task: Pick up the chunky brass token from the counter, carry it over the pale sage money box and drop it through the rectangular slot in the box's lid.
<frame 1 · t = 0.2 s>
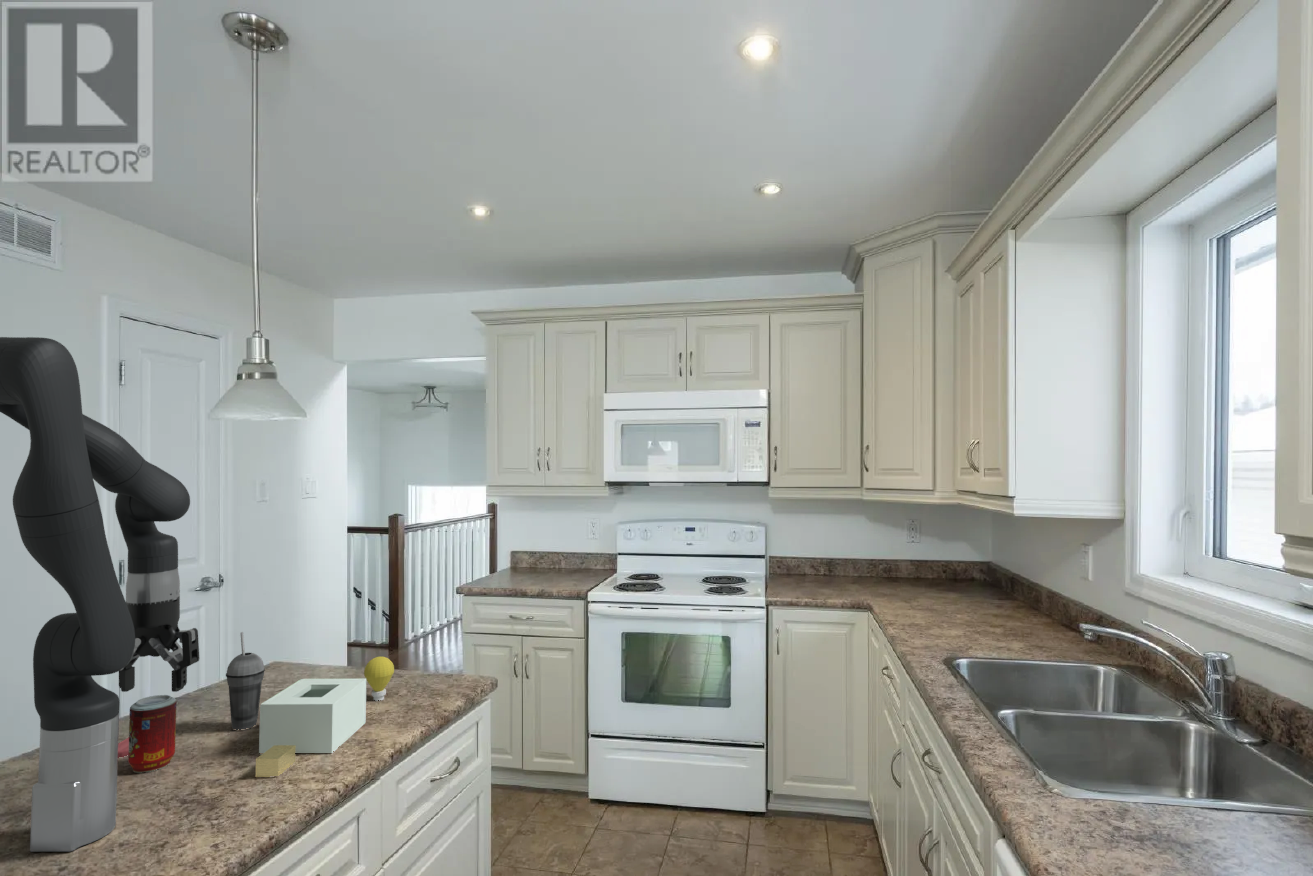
hand: (153, 690, 118), 17 cm above the counter, tool pointing down, fingers open, 8 cm apart
light bulb: (378, 700, 164), on the counter
popsicle: (141, 745, 138), on the counter
money box: (315, 737, 140), on the counter
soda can: (151, 767, 127), on the counter
beverage cup: (244, 727, 146), on the counter
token: (275, 771, 125), on the counter
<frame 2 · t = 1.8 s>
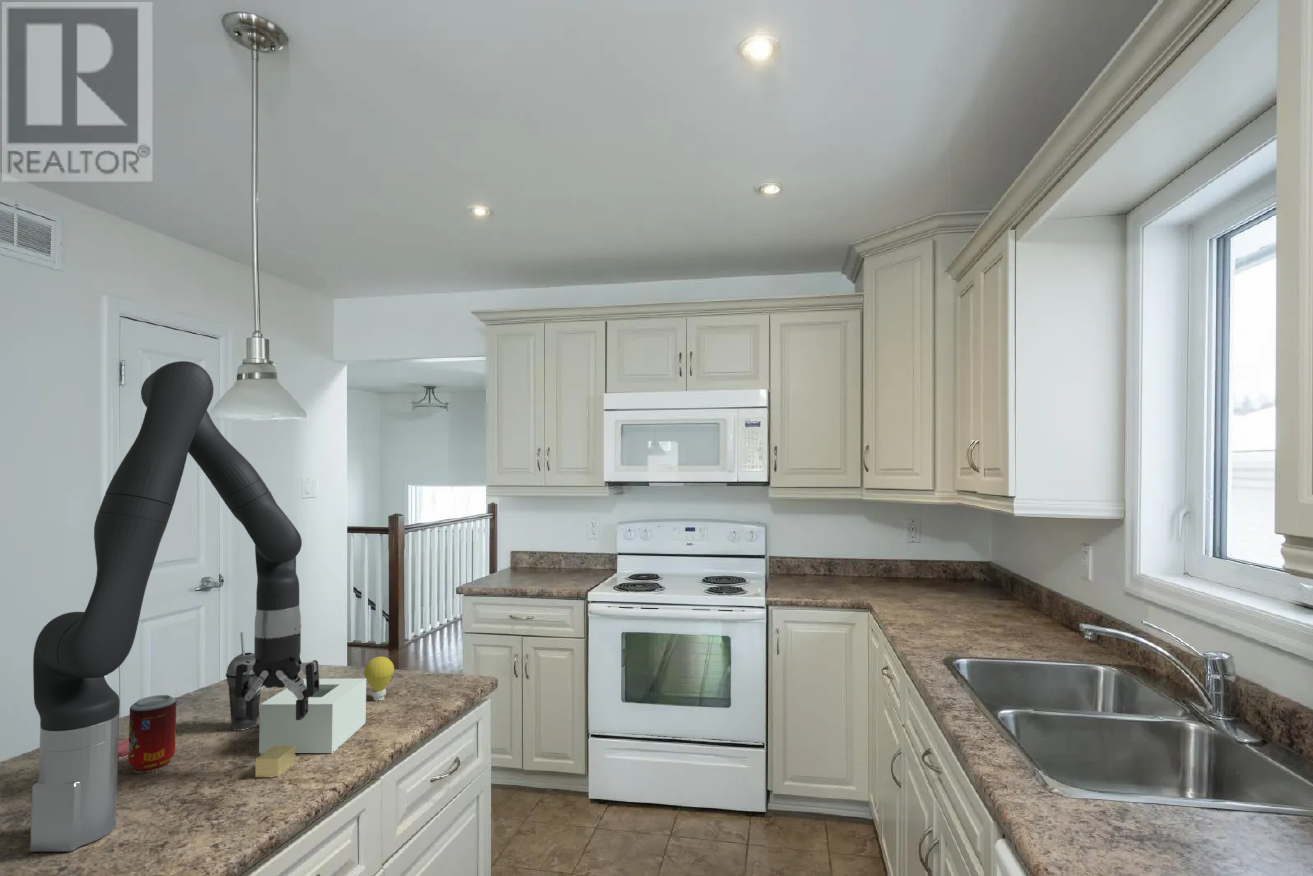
hand: (277, 719, 126), 9 cm above the counter, tool pointing down, fingers open, 8 cm apart
nothing on the counter moved.
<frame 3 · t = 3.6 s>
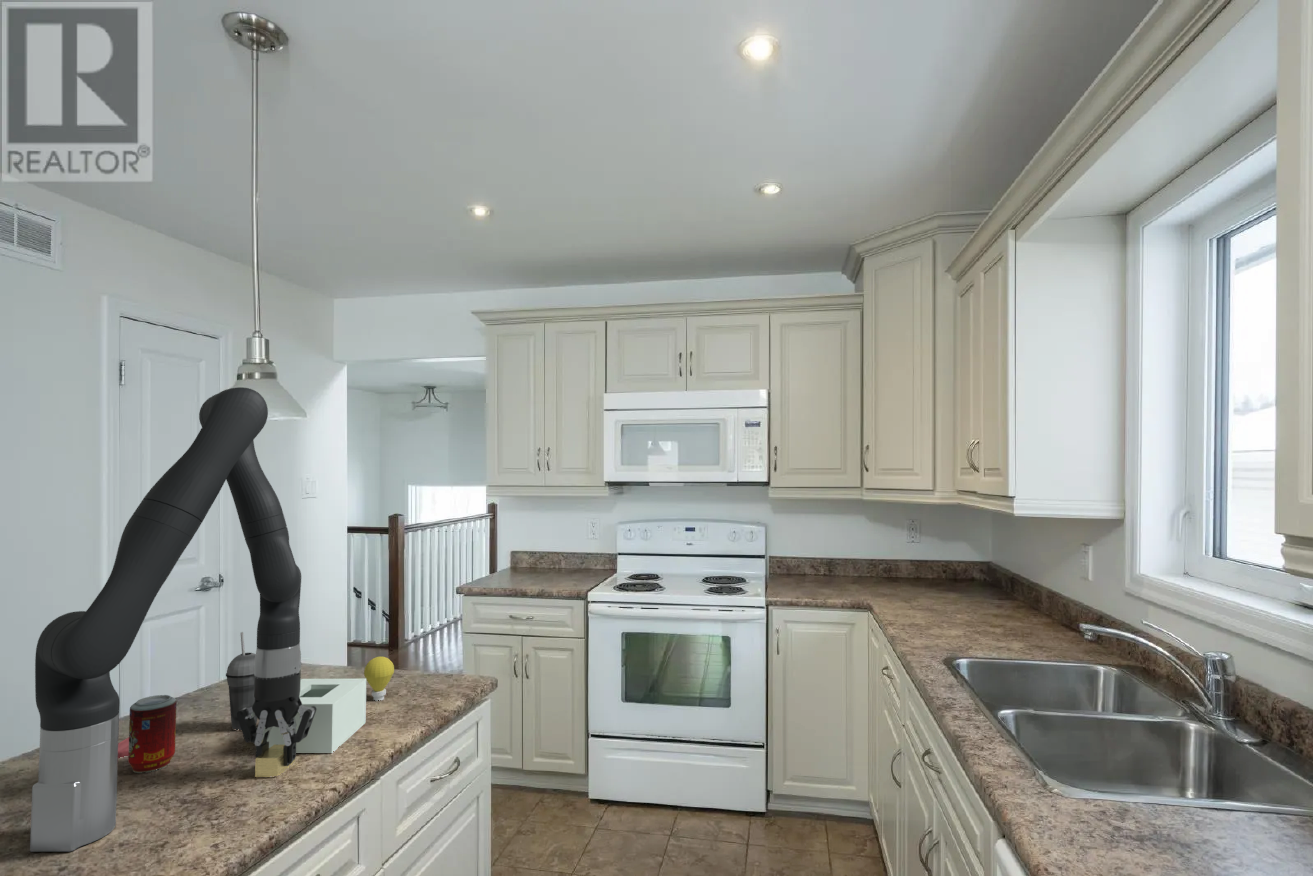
hand: (275, 764, 126), 1 cm above the counter, tool pointing down, fingers closed on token, 4 cm apart
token: (275, 770, 125), on the counter, touching gripper
everything else where it was.
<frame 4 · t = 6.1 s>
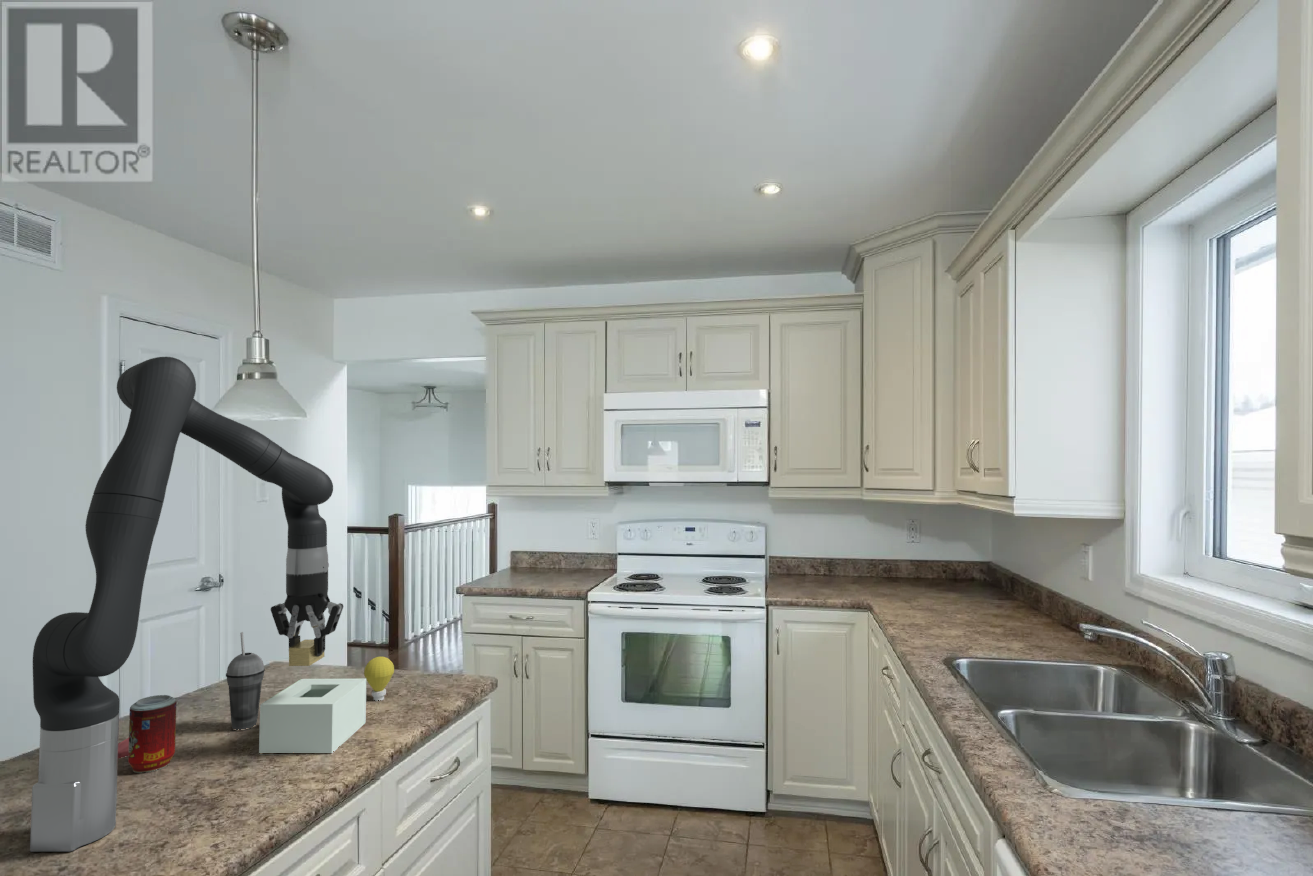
hand: (307, 655, 136), 18 cm above the counter, tool pointing down, fingers closed on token, 4 cm apart
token: (307, 661, 136), point 17 cm above the counter, touching gripper
everything else where it was.
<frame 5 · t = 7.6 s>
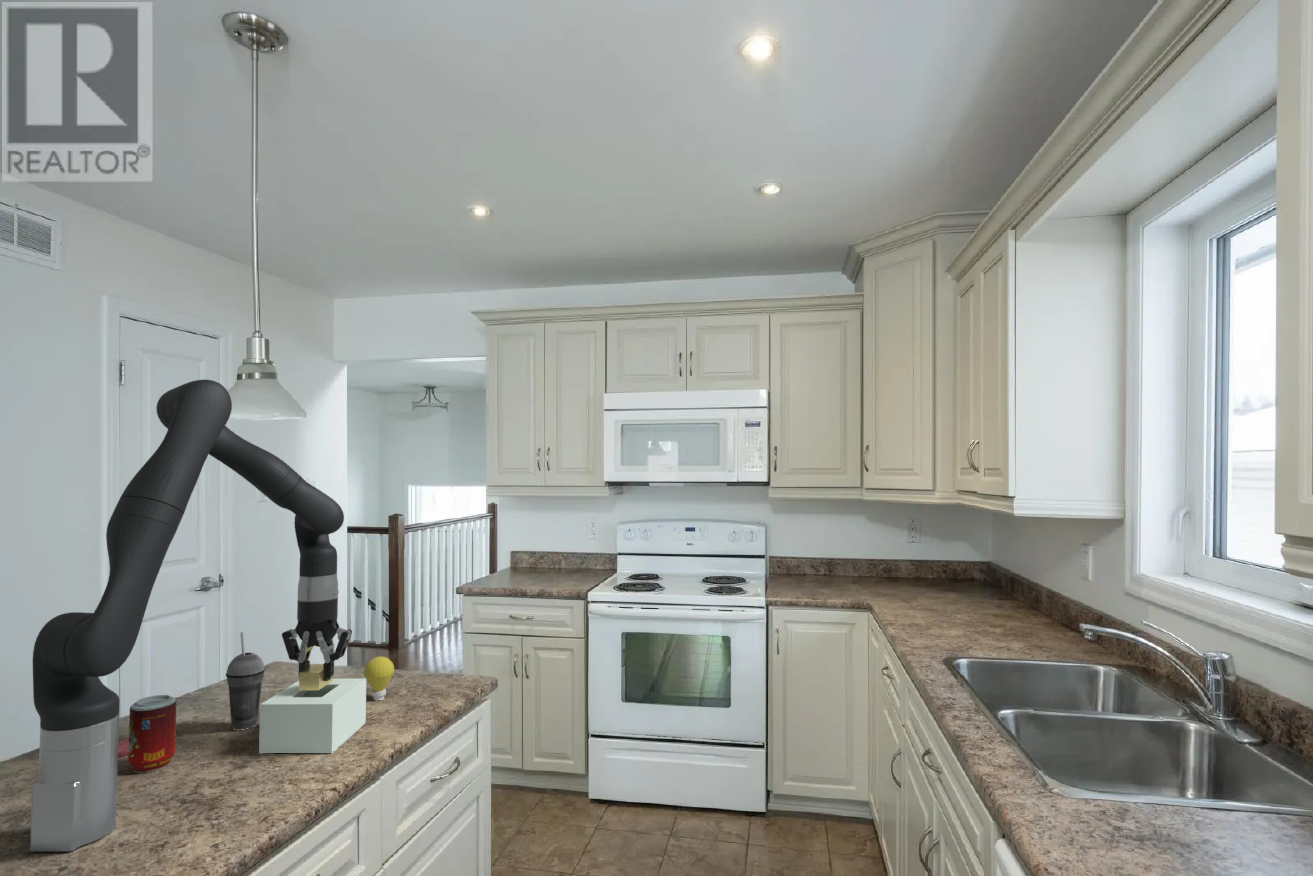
hand: (316, 679, 141), 12 cm above the counter, tool pointing down, fingers closed on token, 4 cm apart
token: (316, 685, 141), point 11 cm above the counter, touching gripper
everything else where it was.
when the fingers open (12 cm above the counter, at t = 8.6 s): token drops 7 cm, resting on money box.
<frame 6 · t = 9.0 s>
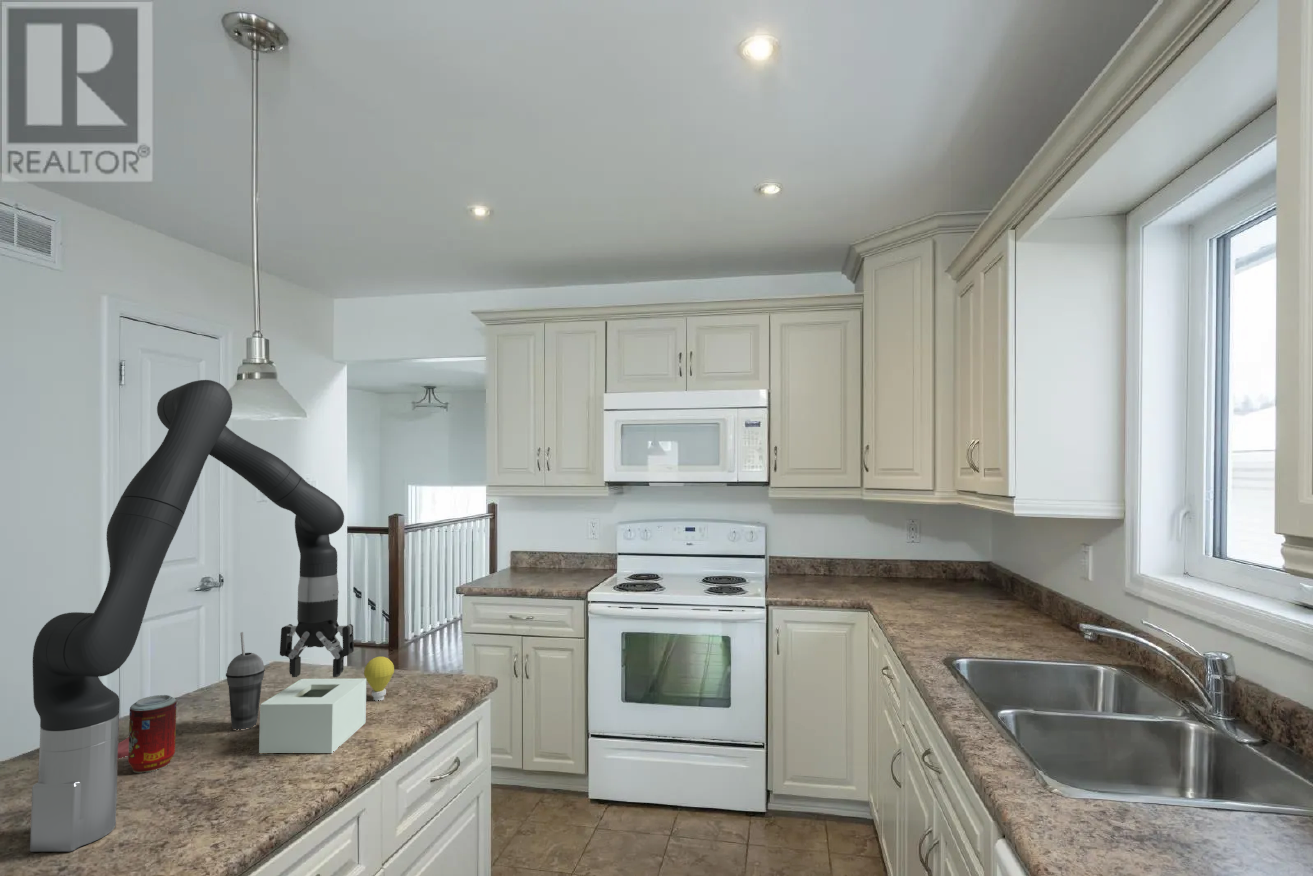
hand: (316, 676, 141), 12 cm above the counter, tool pointing down, fingers open, 8 cm apart
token: (315, 720, 141), point 3 cm above the counter, touching money box
everything else where it was.
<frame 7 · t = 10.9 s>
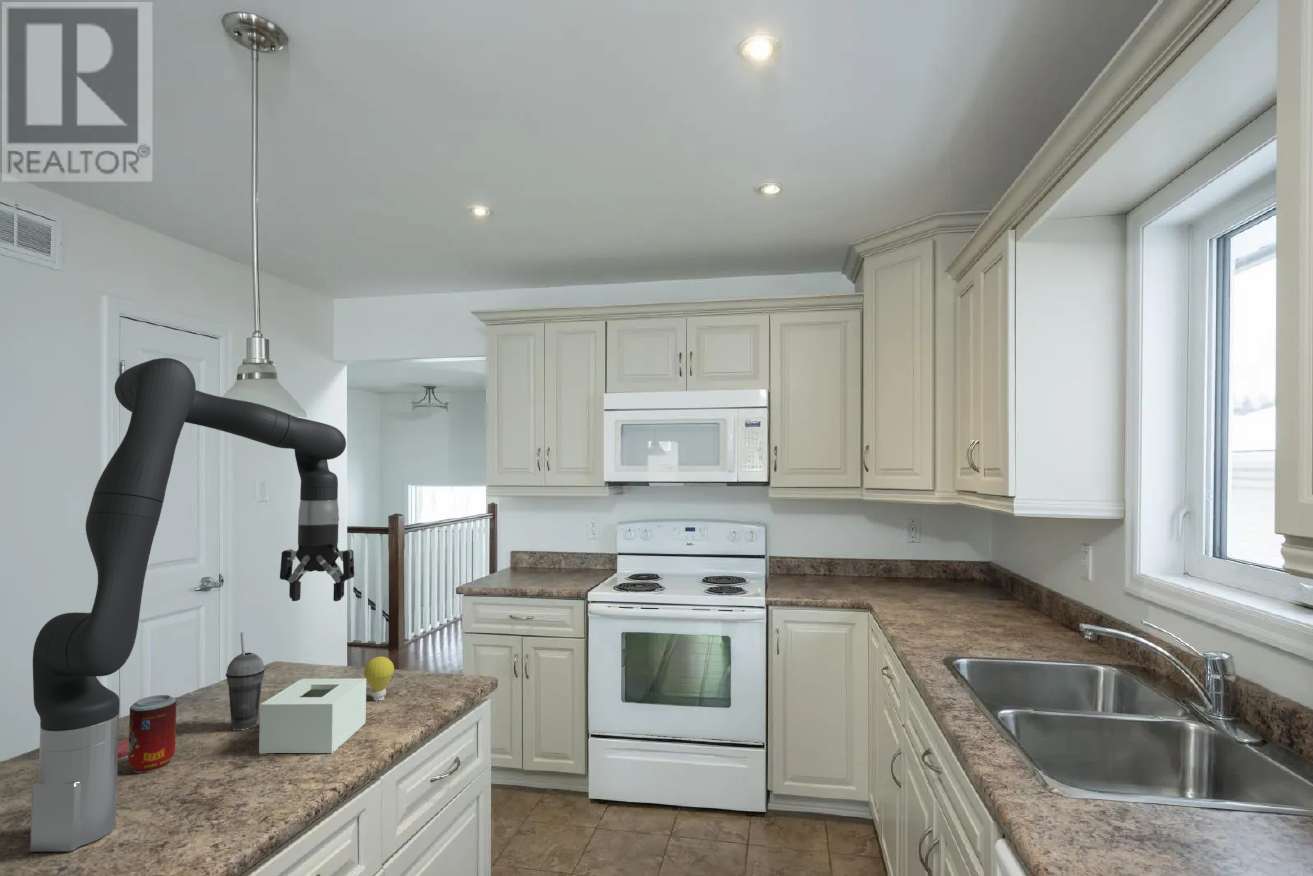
hand: (316, 600, 141), 28 cm above the counter, tool pointing down, fingers open, 8 cm apart
nothing on the counter moved.
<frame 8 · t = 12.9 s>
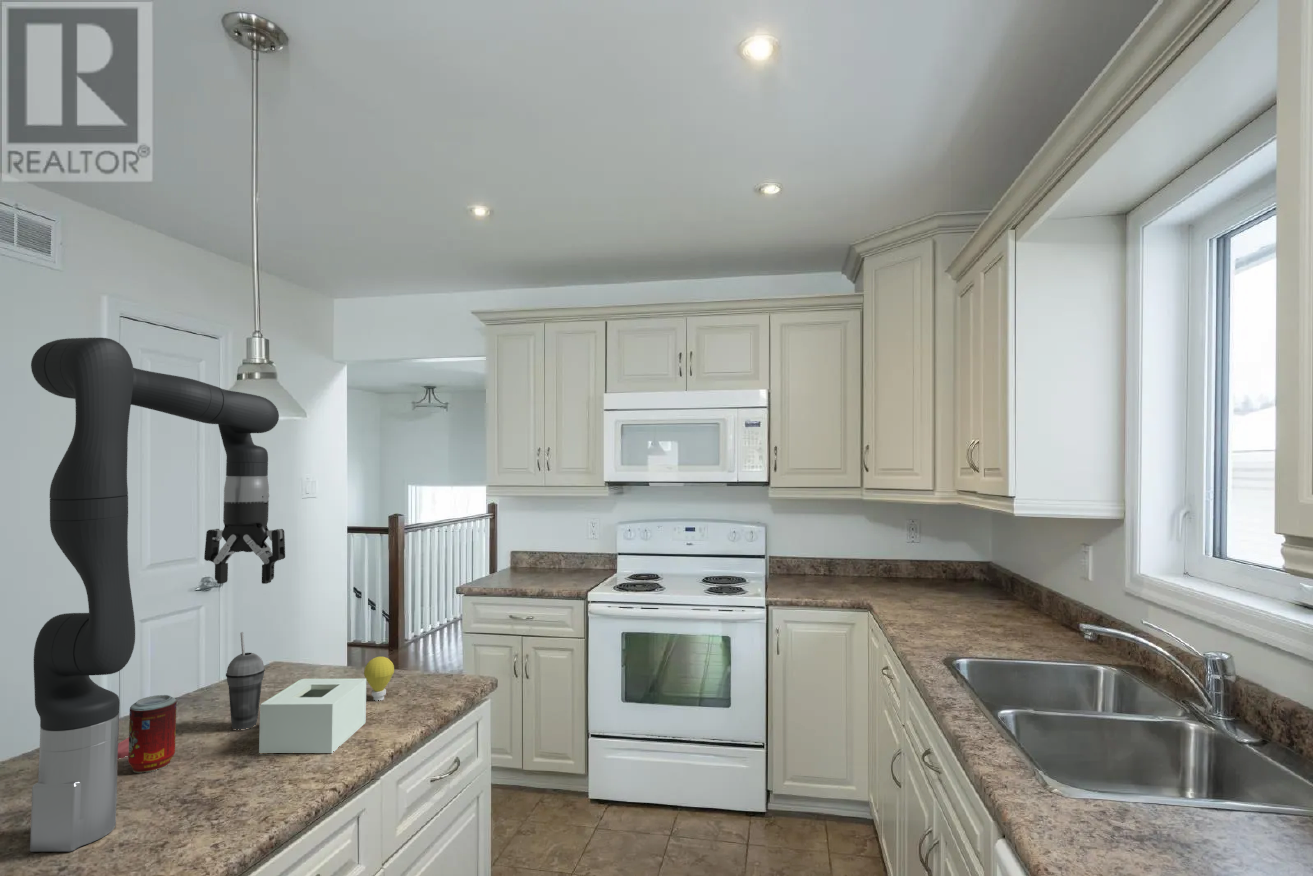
hand: (244, 583, 133), 33 cm above the counter, tool pointing down, fingers open, 8 cm apart
nothing on the counter moved.
at the end: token inside the target area on the money box (0.1 cm from its centre), point 3.5 cm above the money box's base; the gripper is holding nothing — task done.
